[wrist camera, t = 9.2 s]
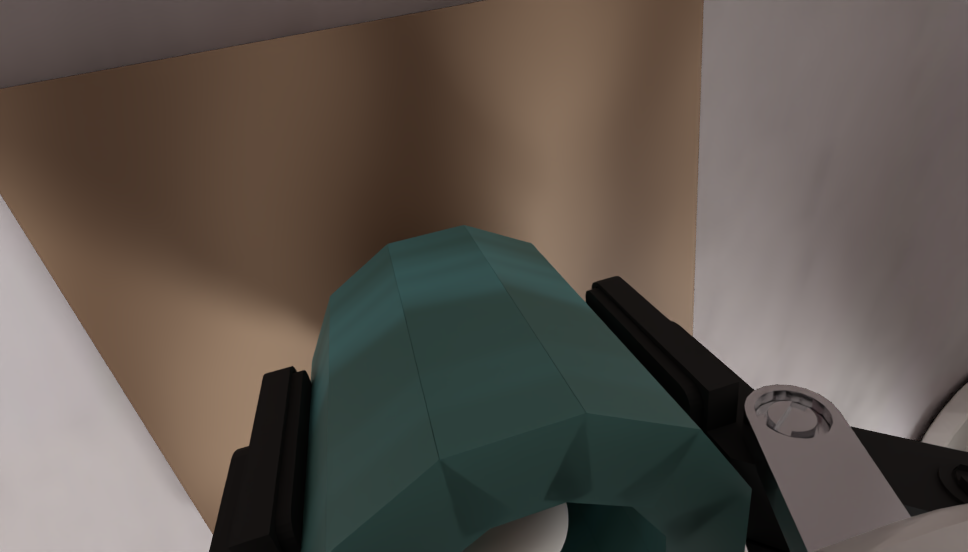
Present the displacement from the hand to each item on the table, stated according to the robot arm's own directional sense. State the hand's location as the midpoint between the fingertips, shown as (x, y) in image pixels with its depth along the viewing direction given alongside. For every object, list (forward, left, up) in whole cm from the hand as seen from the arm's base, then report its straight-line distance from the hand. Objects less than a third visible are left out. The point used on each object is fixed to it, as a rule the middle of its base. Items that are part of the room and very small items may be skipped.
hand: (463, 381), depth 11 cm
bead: (0, 0, -1) cm, 1 cm away
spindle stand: (0, 0, -5) cm, 5 cm away
